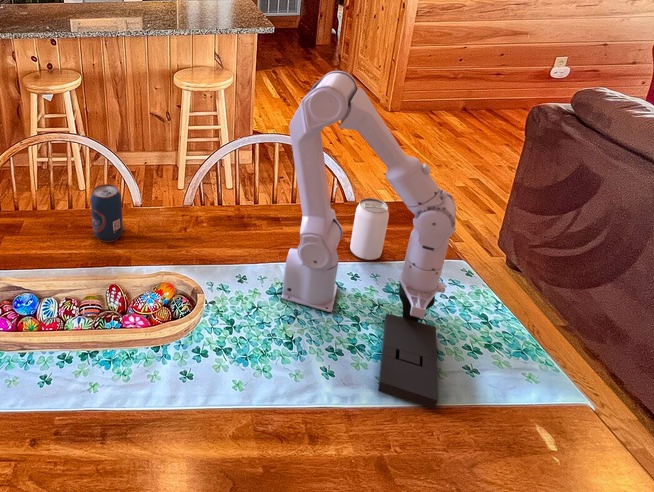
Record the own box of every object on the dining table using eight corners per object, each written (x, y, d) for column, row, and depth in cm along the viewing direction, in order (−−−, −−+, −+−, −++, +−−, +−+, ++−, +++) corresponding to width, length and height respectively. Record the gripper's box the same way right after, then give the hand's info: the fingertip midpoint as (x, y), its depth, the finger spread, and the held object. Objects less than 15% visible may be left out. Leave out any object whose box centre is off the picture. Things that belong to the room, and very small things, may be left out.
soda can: (87, 234, 119) (83, 190, 114) (111, 222, 123) (108, 179, 118) (105, 247, 114) (102, 202, 109) (129, 234, 119) (127, 190, 114)
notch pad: (378, 390, 80) (380, 381, 79) (381, 353, 86) (383, 344, 85) (435, 409, 76) (437, 400, 76) (434, 369, 83) (436, 360, 82)
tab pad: (381, 362, 84) (383, 353, 84) (384, 321, 93) (386, 312, 92) (434, 378, 81) (437, 370, 80) (433, 334, 89) (435, 326, 89)
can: (383, 262, 108) (393, 214, 103) (351, 259, 109) (359, 212, 104) (378, 244, 113) (387, 198, 108) (347, 241, 114) (355, 195, 110)
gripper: (453, 293, 78) (435, 357, 84) (449, 241, 90) (433, 300, 96) (403, 281, 81) (389, 344, 87) (405, 232, 93) (393, 290, 99)
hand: (409, 320), depth 91 cm, fingers closed
